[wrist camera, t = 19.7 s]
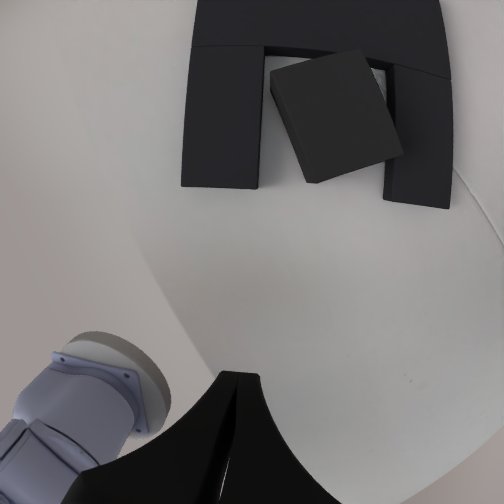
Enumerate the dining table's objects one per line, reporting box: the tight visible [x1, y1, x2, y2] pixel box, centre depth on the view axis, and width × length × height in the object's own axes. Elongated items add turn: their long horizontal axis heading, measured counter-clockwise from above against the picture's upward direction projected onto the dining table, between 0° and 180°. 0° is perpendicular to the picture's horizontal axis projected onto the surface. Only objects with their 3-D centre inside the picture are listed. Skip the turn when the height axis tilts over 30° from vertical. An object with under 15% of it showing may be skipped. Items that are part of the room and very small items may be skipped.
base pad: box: [181, 0, 453, 209], centre depth 15 cm, size 16×16×2 cm
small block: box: [270, 48, 404, 184], centre depth 15 cm, size 6×5×4 cm
